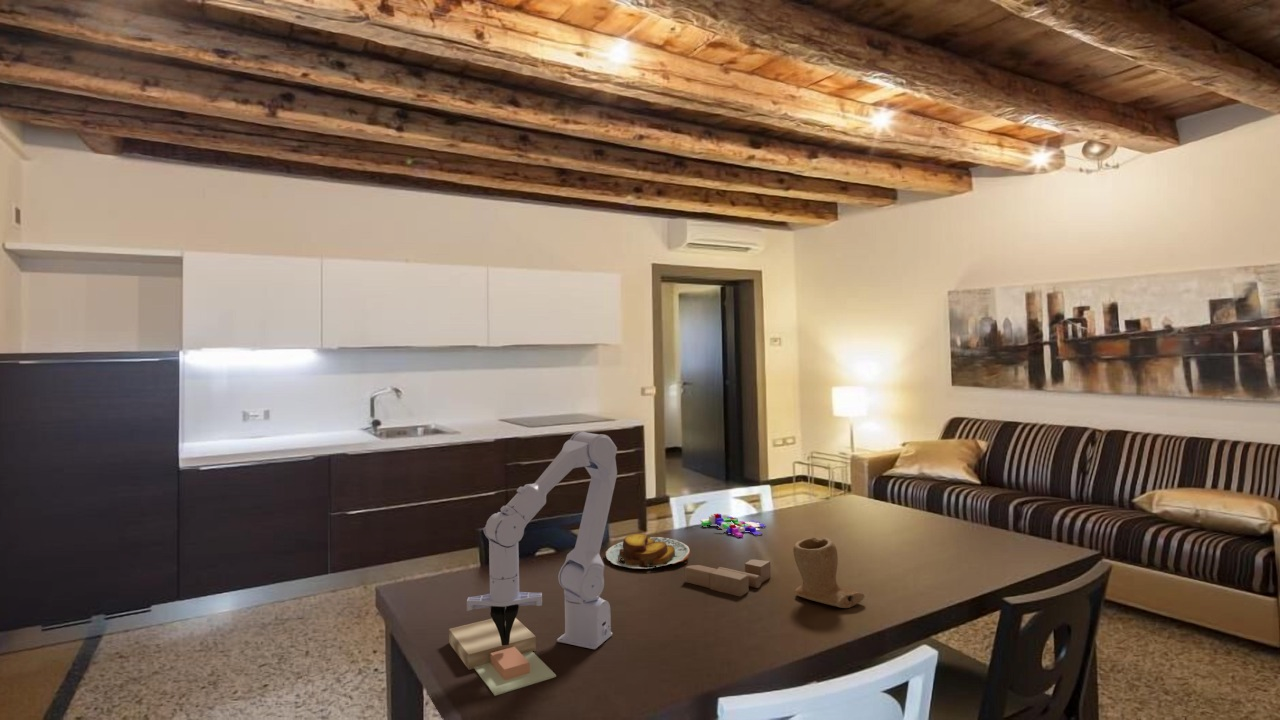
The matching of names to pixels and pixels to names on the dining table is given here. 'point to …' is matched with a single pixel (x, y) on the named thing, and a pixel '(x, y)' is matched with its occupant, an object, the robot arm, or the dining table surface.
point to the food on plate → (647, 551)
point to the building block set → (732, 528)
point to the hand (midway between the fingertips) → (505, 642)
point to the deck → (487, 641)
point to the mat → (502, 686)
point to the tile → (509, 663)
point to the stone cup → (821, 574)
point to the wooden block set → (729, 577)
